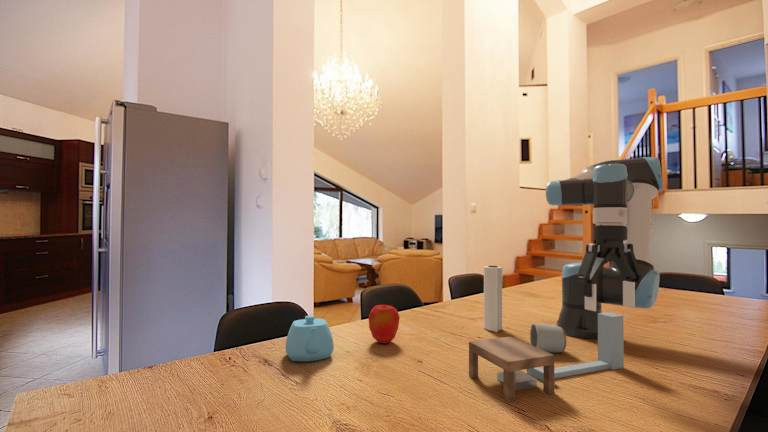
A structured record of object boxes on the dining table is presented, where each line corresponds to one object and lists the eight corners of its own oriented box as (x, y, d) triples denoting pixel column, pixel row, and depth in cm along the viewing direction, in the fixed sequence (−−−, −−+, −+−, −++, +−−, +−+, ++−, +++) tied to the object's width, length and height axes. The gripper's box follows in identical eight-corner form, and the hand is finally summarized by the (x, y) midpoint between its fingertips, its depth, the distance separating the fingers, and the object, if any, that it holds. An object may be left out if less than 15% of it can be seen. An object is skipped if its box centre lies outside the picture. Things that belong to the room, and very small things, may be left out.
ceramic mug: (568, 356, 102) (567, 328, 103) (537, 355, 103) (536, 326, 104) (554, 344, 113) (554, 318, 113) (526, 343, 114) (526, 318, 114)
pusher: (603, 360, 100) (603, 310, 100) (629, 369, 93) (629, 317, 94) (526, 373, 91) (526, 318, 91) (549, 384, 84) (549, 326, 84)
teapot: (288, 328, 90) (284, 311, 107) (288, 373, 90) (283, 349, 107) (340, 323, 94) (328, 308, 111) (340, 367, 94) (327, 344, 111)
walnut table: (510, 369, 93) (510, 336, 93) (554, 392, 80) (554, 355, 80) (468, 375, 89) (469, 341, 89) (508, 402, 76) (508, 362, 76)
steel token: (518, 377, 89) (518, 369, 89) (536, 388, 84) (536, 379, 84) (497, 381, 87) (497, 372, 87) (515, 392, 81) (515, 382, 81)
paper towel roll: (487, 325, 133) (487, 264, 134) (504, 328, 130) (504, 266, 130) (479, 330, 127) (479, 266, 128) (497, 333, 124) (497, 268, 124)
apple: (363, 344, 111) (363, 303, 111) (375, 336, 119) (375, 298, 120) (393, 349, 107) (393, 306, 108) (403, 340, 116) (403, 300, 116)
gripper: (586, 223, 89) (586, 314, 88) (657, 225, 97) (658, 308, 97) (560, 224, 96) (560, 308, 95) (629, 225, 104) (630, 302, 104)
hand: (610, 308), depth 96 cm, fingers open, 13 cm apart
